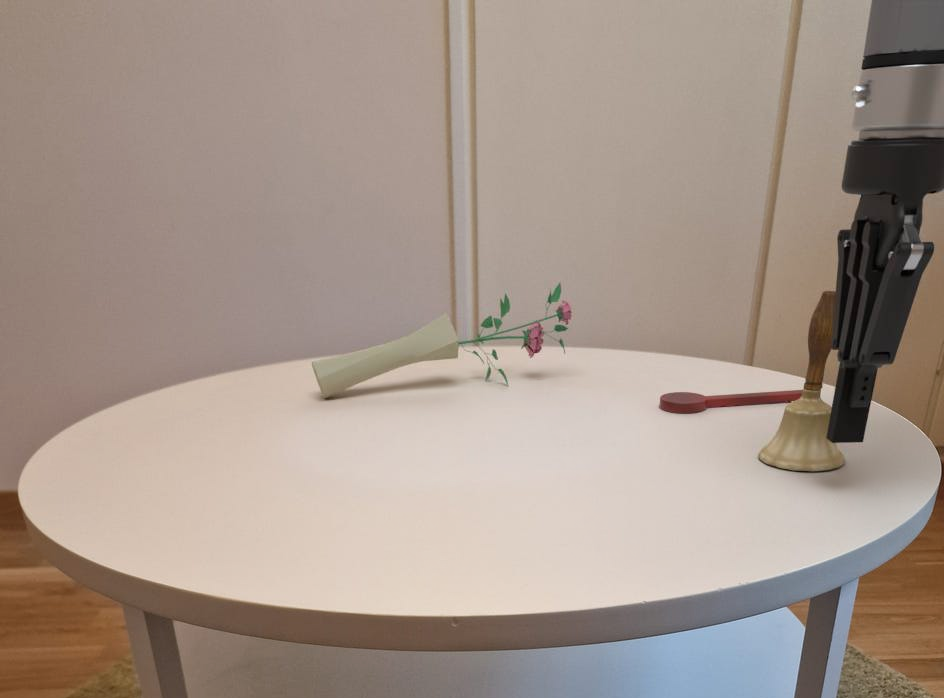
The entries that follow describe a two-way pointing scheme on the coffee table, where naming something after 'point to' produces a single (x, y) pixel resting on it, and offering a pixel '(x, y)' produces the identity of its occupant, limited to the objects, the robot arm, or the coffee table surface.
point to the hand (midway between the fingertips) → (844, 439)
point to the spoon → (721, 400)
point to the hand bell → (808, 407)
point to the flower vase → (426, 349)
